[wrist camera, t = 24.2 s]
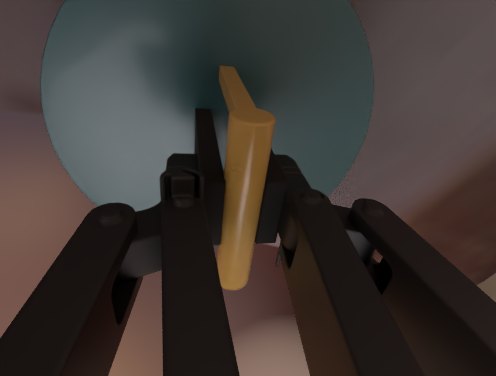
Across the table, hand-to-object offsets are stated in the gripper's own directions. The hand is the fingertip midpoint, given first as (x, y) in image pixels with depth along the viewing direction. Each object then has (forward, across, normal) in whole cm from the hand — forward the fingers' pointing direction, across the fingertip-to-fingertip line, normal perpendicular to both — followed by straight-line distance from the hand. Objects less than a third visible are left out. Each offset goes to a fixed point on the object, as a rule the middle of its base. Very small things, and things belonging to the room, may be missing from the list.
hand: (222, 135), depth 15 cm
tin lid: (+1, 0, 0) cm, 1 cm away
